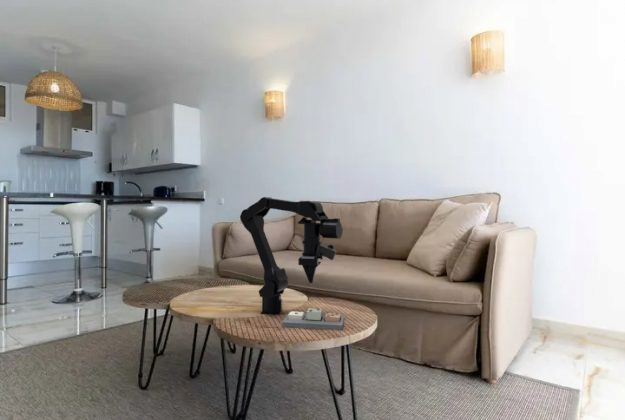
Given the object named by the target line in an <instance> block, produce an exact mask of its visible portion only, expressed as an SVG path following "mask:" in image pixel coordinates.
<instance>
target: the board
mask: <svg viewBox="0 0 625 420" xmlns="http://www.w3.org/2000/svg"><path fill="white" fill-rule="evenodd" d="M290 312H291V311H289V312H288V314H287V315H286V316H285V318H284V319H283V320H282V321H281V327H282V328H292V329H293V328H295V329H314V330H333V331H335V330H336V331H343V328H344V322H345V314H340V322H327V321H325V316H326V313H322V318H321V320H307V312H304V319H303V320H289V319H288V315H289V313H290Z"/></svg>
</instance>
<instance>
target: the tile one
mask: <svg viewBox="0 0 625 420" xmlns="http://www.w3.org/2000/svg"><path fill="white" fill-rule="evenodd" d="M289 312H290V313H289ZM289 312H288V314H289V315H288V314H287V315H288V319H289V320H303V319H304V313H305V311H289Z"/></svg>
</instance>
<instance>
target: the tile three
mask: <svg viewBox="0 0 625 420" xmlns="http://www.w3.org/2000/svg"><path fill="white" fill-rule="evenodd" d="M325 314H326V316H325V321H327V322H340V315H341V313H330V312H328V313H325Z"/></svg>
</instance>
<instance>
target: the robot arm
mask: <svg viewBox="0 0 625 420" xmlns="http://www.w3.org/2000/svg"><path fill="white" fill-rule="evenodd" d="M271 209H272V210H278V211H285V212H291V213H295V214H297V215H299V216H302V217H301V219H300V220H299V221H298V222H297V224H298V225H303V240H302V244H303V250H302V251H303V252H302V255H301V256H300V257H299V258H298V266H301V267H302V268H303V270H304V273H305V275H306V277H307V280H308V283H309V284H313V283H314V279H315V275H316V270H317V267H318V266H319V265H321V263H322V261H323V260H324V258H326V259H329V260H330V261H333V260H334V259H335V256H336V254H337V249H335V246H334V245H333V244H331V243H330V244H328V245H324V244H322V240H321V238H323V239H335V240H337V239H338V240H340V239H341V238H342V236H343V225H342V222H341V219H340V218H339V217H338V218H336V217H335V218H329V217H328V215H327V213H326V212H325V211H324V206H323V205H322V203H321V202H319V201H315V200H301V201H295V200H294V201H292V200H286V199H279V198H272V197H271V196H270V197H268V196H263V197H261V198H260V199H259V200H258V201H256V202H255V203H253V204H251V205H249V206H248V207H247V208H245V209H243V210H242V211H241V213H240V216H239V218H240V221H241V224H242V226H243V227H244V229H245V230H246V231H248V233H249V234H250V236H251V238H252V240H253V244H254V246H255V249H256V252H257V254H258V257H259V260H260V262H261V265H262V268H263V271H264V272H263V282H264V285H263V286H262V287H261V288H260V289H259V290H258V294H259V297H260V298H262V300H261V311H260V315H276V316H277V315H278V316H279V315H280V313H281V312H282V311H283V298H282V295H283V294H284V292H285V290H286V288H287V287H288V284H289V277H288V276H287V273H286V270H285V268H280V267H279V266H278V265H277V262H276V260H275V257H274V253H273V252H272V248H271V246H270V244H269V241H268V238H267V236H266V233H265V229H264V228H265V219H264V218H265V217H266V216H267V215H268V213H269V212H270V210H271ZM309 218H310V219H309ZM319 259H320V260H322V261H320V260H319Z"/></svg>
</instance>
